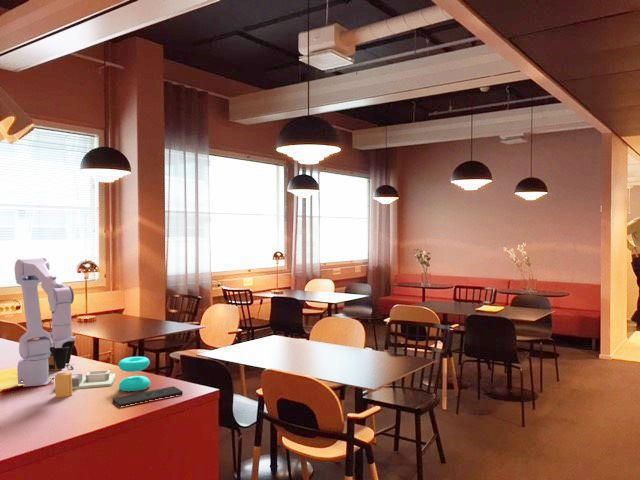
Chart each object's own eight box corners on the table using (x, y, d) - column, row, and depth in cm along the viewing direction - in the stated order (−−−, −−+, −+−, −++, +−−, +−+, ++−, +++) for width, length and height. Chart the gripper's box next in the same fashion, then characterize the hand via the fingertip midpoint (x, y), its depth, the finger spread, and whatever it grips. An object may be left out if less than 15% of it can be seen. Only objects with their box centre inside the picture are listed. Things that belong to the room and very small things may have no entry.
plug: (55, 397, 174) (54, 376, 174) (57, 394, 177) (56, 373, 177) (71, 396, 176) (70, 374, 176) (72, 393, 179) (72, 372, 178)
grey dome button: (56, 388, 182) (56, 380, 182) (60, 382, 189) (60, 375, 189) (78, 386, 184) (78, 378, 184) (82, 380, 191) (82, 373, 191)
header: (86, 381, 190) (85, 375, 190) (88, 377, 196) (88, 371, 196) (108, 379, 192) (108, 373, 192) (110, 375, 198) (110, 369, 198)
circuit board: (54, 390, 182) (54, 388, 182) (63, 379, 196) (63, 377, 196) (111, 385, 187) (111, 383, 187) (116, 375, 200) (116, 373, 200)
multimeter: (84, 365, 216) (82, 315, 216) (64, 372, 207) (63, 319, 206) (55, 363, 221) (53, 314, 221) (35, 369, 212) (33, 318, 211)
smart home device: (183, 391, 174) (119, 404, 163) (183, 396, 174) (119, 409, 163) (173, 385, 181) (111, 397, 169) (173, 390, 181) (112, 403, 169)
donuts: (130, 364, 176) (112, 360, 182) (131, 394, 176) (112, 390, 182) (155, 357, 184) (137, 354, 190) (156, 387, 184) (137, 382, 190)
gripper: (71, 326, 170) (72, 369, 171) (79, 320, 184) (80, 360, 185) (46, 328, 169) (48, 372, 169) (56, 321, 183) (57, 362, 183)
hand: (63, 366), depth 177 cm, fingers open, 7 cm apart
